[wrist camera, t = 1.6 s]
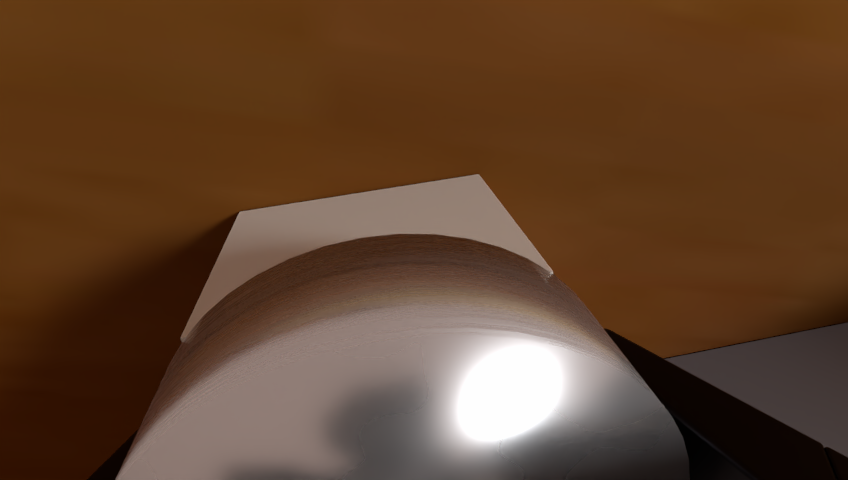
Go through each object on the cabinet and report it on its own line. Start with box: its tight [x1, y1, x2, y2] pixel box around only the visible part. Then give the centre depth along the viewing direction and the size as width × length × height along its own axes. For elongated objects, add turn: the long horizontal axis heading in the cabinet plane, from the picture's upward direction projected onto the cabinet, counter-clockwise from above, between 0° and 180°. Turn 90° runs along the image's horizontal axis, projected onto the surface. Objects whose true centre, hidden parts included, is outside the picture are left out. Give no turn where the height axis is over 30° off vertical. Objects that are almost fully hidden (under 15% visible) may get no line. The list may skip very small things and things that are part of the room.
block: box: [180, 174, 553, 342], centre depth 9 cm, size 5×5×4 cm
